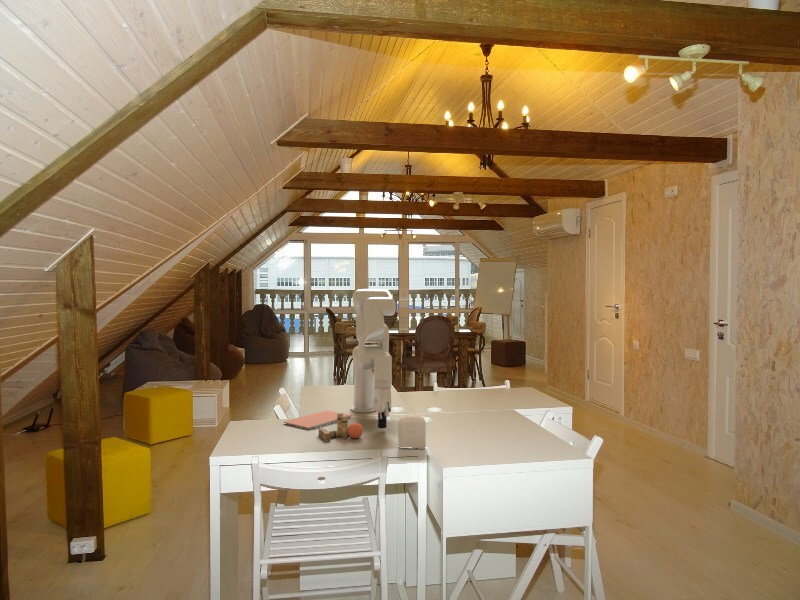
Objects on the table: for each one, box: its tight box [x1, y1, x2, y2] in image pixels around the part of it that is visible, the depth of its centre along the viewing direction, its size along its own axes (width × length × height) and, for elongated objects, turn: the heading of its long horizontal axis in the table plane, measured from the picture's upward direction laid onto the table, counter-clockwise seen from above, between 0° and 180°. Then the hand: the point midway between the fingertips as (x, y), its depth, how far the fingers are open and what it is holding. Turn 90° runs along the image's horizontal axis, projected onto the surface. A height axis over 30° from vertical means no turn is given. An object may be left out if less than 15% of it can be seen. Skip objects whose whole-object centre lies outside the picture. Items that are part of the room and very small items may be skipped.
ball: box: [348, 422, 364, 439], centre depth 212 cm, size 6×6×6 cm
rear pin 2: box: [340, 416, 349, 439], centre depth 213 cm, size 2×2×8 cm
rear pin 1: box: [336, 412, 344, 431], centre depth 217 cm, size 2×2×8 cm
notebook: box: [283, 409, 353, 430], centre depth 238 cm, size 27×17×2 cm, turn 144°
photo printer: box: [397, 414, 427, 450], centre depth 200 cm, size 10×4×12 cm, turn 89°
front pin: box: [328, 430, 349, 438], centre depth 214 cm, size 2×2×8 cm
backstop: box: [318, 427, 331, 441], centre depth 212 cm, size 9×2×3 cm, turn 26°
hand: (382, 427), depth 223 cm, fingers closed
